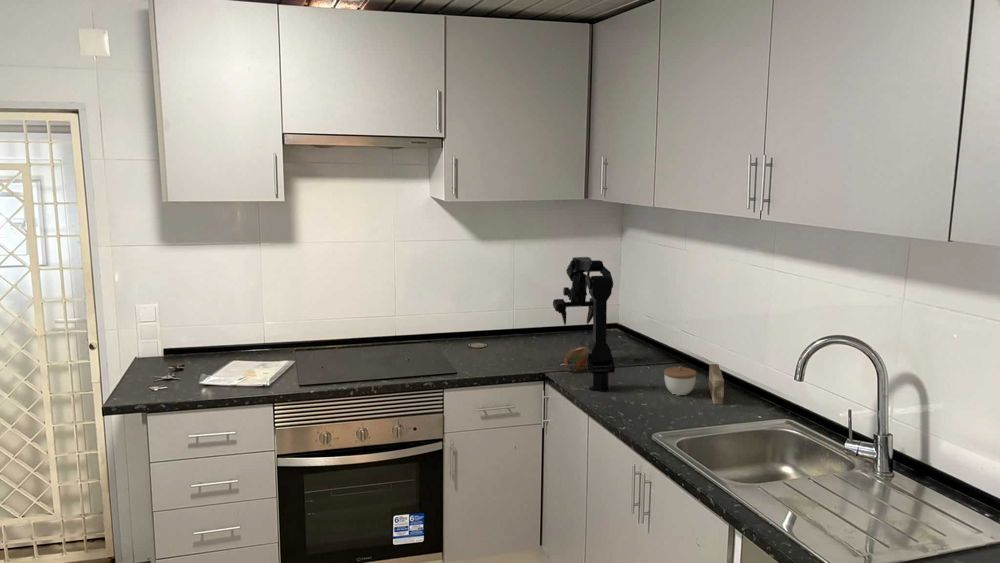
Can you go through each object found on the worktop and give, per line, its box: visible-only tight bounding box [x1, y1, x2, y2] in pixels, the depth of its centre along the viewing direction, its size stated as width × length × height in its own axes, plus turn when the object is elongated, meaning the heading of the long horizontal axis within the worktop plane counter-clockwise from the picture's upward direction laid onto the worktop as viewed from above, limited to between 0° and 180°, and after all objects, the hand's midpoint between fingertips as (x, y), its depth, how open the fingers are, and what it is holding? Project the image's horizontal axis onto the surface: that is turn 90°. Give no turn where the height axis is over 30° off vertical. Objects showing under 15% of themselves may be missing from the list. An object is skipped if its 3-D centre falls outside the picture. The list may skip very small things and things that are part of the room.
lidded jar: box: [663, 365, 697, 396], centre depth 255 cm, size 11×11×9 cm
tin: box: [563, 346, 588, 373], centre depth 284 cm, size 15×3×8 cm, turn 129°
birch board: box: [708, 363, 725, 405], centre depth 253 cm, size 3×20×8 cm, turn 169°
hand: (576, 324), depth 292 cm, fingers open, 9 cm apart
